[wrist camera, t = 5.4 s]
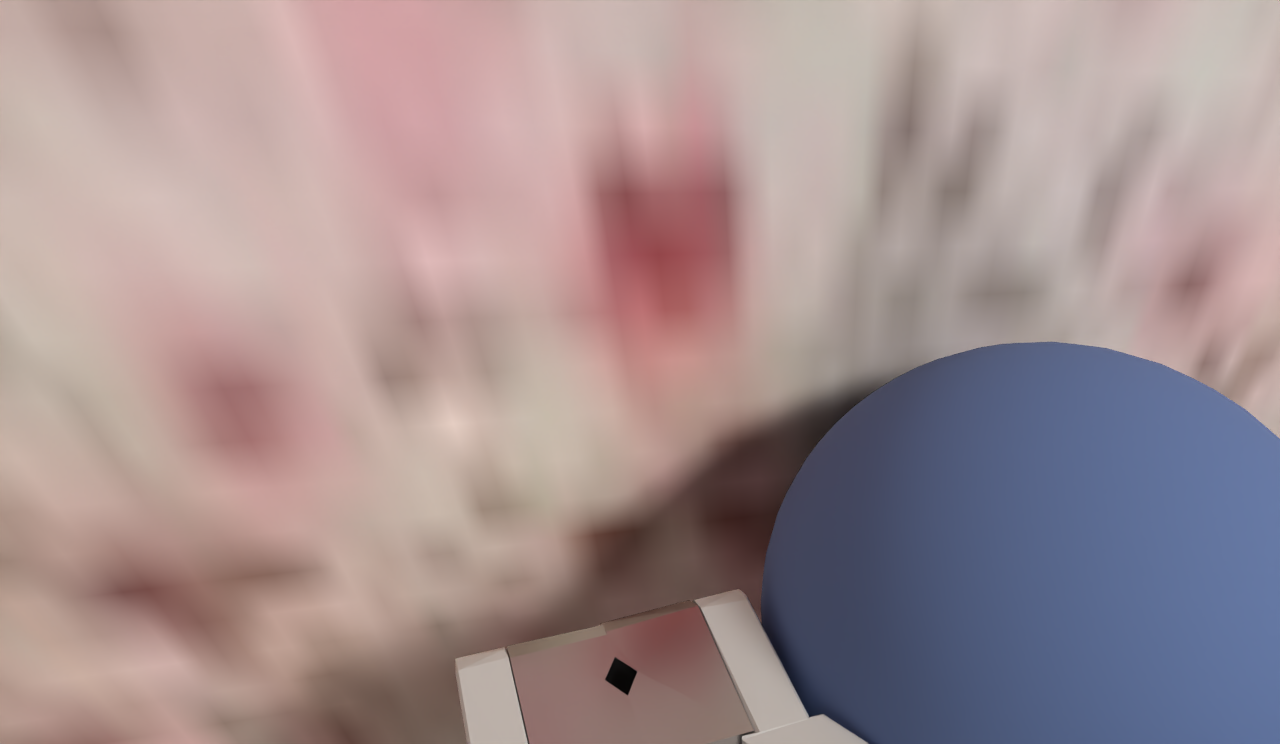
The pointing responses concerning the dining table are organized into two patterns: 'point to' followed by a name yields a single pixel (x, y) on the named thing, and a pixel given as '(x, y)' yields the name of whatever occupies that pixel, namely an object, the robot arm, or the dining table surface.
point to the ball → (1035, 557)
